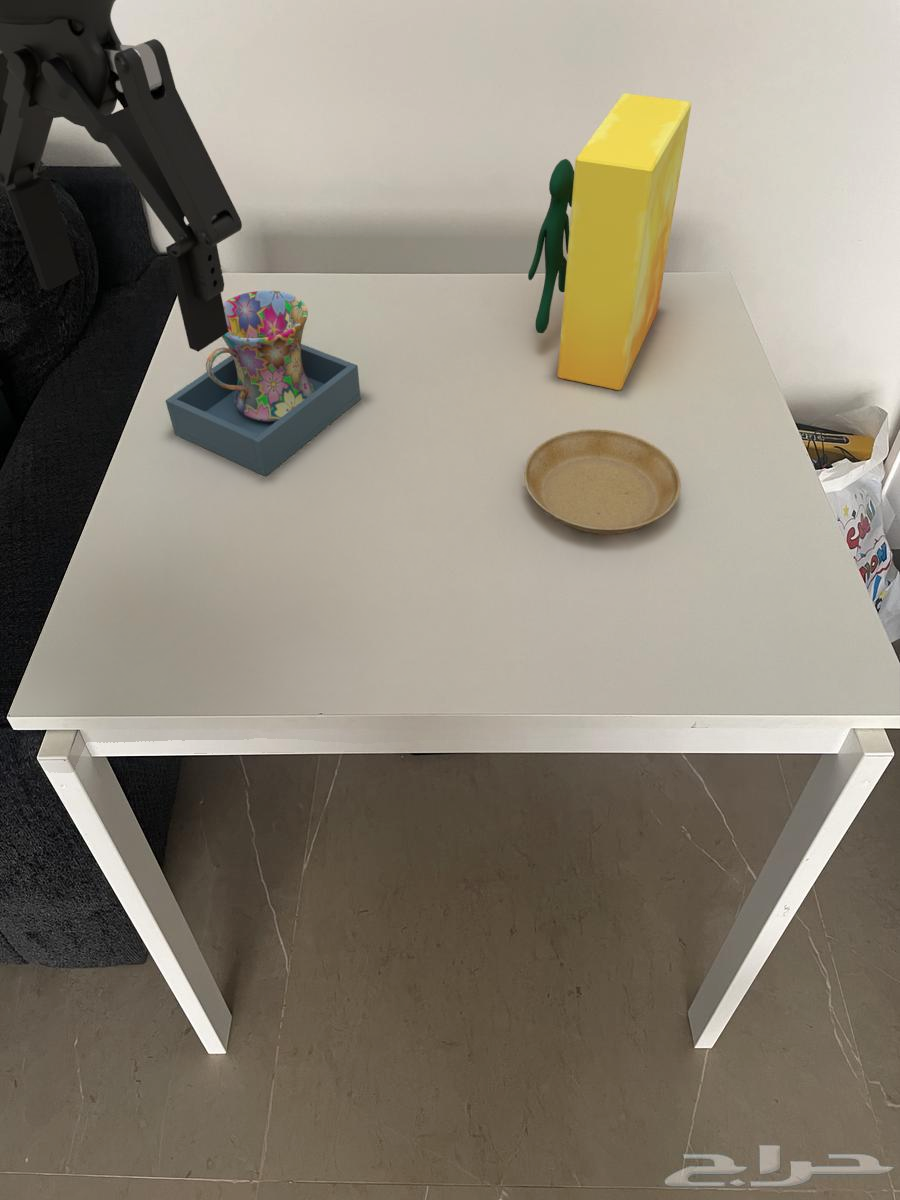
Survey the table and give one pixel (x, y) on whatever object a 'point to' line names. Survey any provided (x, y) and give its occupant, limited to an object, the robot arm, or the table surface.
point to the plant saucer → (602, 480)
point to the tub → (262, 444)
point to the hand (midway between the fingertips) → (132, 309)
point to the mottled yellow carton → (612, 237)
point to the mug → (265, 353)
